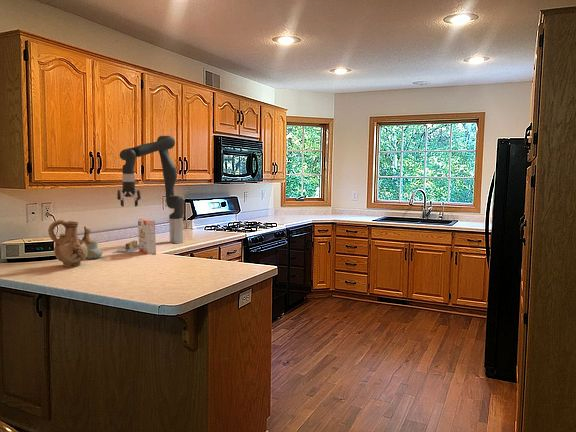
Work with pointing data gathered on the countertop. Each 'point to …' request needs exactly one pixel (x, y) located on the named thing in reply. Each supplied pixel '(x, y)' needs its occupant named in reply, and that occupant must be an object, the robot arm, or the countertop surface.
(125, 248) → the mat
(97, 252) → the air freshener
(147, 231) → the cracker box
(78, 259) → the ceramic vessel
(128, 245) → the turner
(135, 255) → the countertop surface
